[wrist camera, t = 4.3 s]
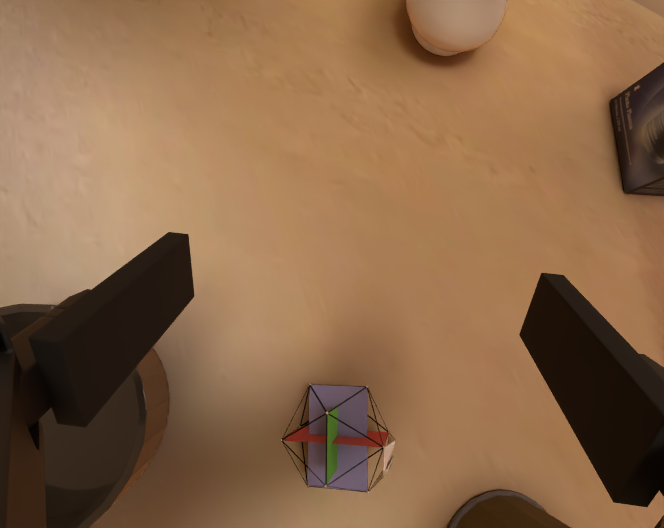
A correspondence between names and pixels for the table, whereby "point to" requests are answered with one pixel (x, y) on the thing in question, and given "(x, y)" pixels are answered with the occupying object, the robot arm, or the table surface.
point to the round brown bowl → (98, 438)
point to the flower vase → (454, 23)
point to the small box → (641, 134)
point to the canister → (504, 512)
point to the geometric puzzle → (340, 438)
